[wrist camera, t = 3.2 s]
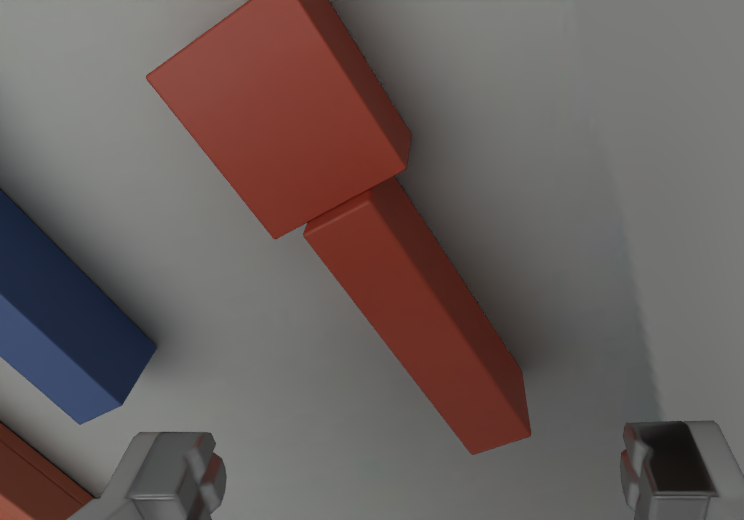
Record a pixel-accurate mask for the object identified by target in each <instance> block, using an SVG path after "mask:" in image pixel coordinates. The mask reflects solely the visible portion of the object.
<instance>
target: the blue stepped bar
mask: <svg viewBox="0 0 744 520" xmlns="http://www.w3.org/2000/svg"><path fill="white" fill-rule="evenodd" d="M156 348H157V347H156V346H155V345H154V344H153V343H152V342H151V341H150V340H149V339H148V338H147V337H146V336H145V335H144V334H143V333H142V332H141V331H140V330H139V329H138V328H137V326H136V325H135V324H134V323H133V322H132V321H131V320H130V319H129V318H128V317H127V316H126V315H125V314H124V313H123V312H122V311H121V310H120V309H119V308H118V307H117V306H116V305H115V304H114V303H113V302H112V301H111V300H110V299H109V298H108V297H107V296H106V295H105V294H104V293H103V292H102V291H101V290H100V289H99V288H98V287H97V286H96V285H95V284H94V283H93V282H92V281H91V280H90V279H89V278H88V277H87V276H86V275H85V274H84V273H83V272H82V271H81V270H80V269H79V268H78V267H77V266H76V265H75V264H74V263H73V262H72V261H71V260H70V259H69V258H68V257H67V256H66V255H65V254H64V253H63V252H62V251H61V250H60V249H59V248H58V247H57V246H56V245H55V244H54V243H53V242H52V241H51V240H50V239H49V238H48V237H47V236H46V235H45V234H44V233H43V232H42V231H41V230H40V229H39V228H38V227H37V226H36V225H35V224H34V223H33V222H32V221H31V220H30V219H29V218H28V217H27V216H26V215H25V214H24V213H23V212H22V211H21V210H20V209H19V208H18V207H17V206H16V205H15V204H14V203H13V202H12V201H11V200H10V199H9V198H8V197H7V196H6V195H5V194H4V193H3V192H2V191H1V190H0V357H2V358H3V359H4V360H5V361H6V362H7V363H9V364H10V365H11V366H12V367H13V368H14V369H16V370H17V371H18V372H19V373H20V374H21V375H23V376H24V377H25V378H26V379H27V380H28V381H29V382H31V383H32V384H33V385H34V386H35V387H36V388H38V389H39V390H40V391H41V392H42V393H43V394H45V395H46V396H47V397H48V398H49V399H50V400H52V401H53V402H54V403H55V404H56V405H57V406H58V407H60V408H61V409H62V410H63V411H64V412H65V413H67V414H68V415H69V416H70V417H71V418H72V419H74V420H75V421H76V422H77V423H78V424H80V425H81V424H83V423H85V422H87V421H89V420H92V419H94V418H96V417H98V416H100V415H102V414H105V413H107V412H109V411H111V410H113V409H115V408H117V407H120V406H122V405H123V403H124V401H125V400H126V398H127V396H128V395H129V393H130V391H131V390H132V388H133V386H134V385H135V383H136V381H137V380H138V378H139V377H140V375H141V373H142V372H143V370H144V368H145V367H146V365H147V363H148V362H149V360H150V358H151V357H152V355H153V353H154V352H155V350H156Z"/></svg>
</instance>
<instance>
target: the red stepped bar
mask: <svg viewBox="0 0 744 520" xmlns="http://www.w3.org/2000/svg"><path fill="white" fill-rule="evenodd" d="M146 79H147V80H148V82H149V83H150V84H151V85H152V87H153V88H154V89H155V90H156V92H157V93H158V94H159V95H160V97H161V98H162V99H163V100H164V102H165V103H166V104H167V105H168V107H169V108H170V109H171V110H172V112H173V113H174V114H175V115H176V117H177V118H178V119H179V120H180V122H181V123H182V124H183V126H184V127H185V128H186V129H187V131H188V132H189V133H190V134H191V136H192V137H193V138H194V139H195V141H196V142H197V143H198V144H199V146H200V147H201V148H202V149H203V151H204V152H205V153H206V154H207V156H208V157H209V158H210V159H211V161H212V162H213V163H214V164H215V166H216V167H217V168H218V169H219V171H220V172H221V173H222V174H223V176H224V177H225V178H226V180H227V181H228V182H229V183H230V185H231V186H232V187H233V188H234V190H235V191H236V192H237V193H238V195H239V196H240V197H241V198H242V200H243V201H244V202H245V203H246V205H247V206H248V207H249V208H250V210H251V211H252V212H253V213H254V215H255V216H256V217H257V218H258V220H259V221H260V222H261V223H262V225H263V226H264V227H265V228H266V230H267V231H268V232H269V233H270V235H271V236H272V237H273V239H277V238H279V237H281V236H283V235H285V234H287V233H288V232H290V231H292V230H294V229H296V228H298V227H300V226H301V225H303V224H305V223H307V222H308V223H307V226H306V228H305V231H304V233H303V235H304V238H305V239H306V240H307V241H308V243H309V244H310V245H311V247H312V248H313V249H314V251H315V252H316V253H317V254H318V256H319V257H320V258H321V260H322V261H323V262H324V264H325V265H326V266H327V268H328V269H329V270H330V271H331V273H332V274H333V275H334V277H335V278H336V279H337V281H338V282H339V283H340V284H341V286H342V287H343V288H344V290H345V291H346V292H347V294H348V295H349V296H350V297H351V299H352V300H353V301H354V303H355V304H356V305H357V307H358V308H359V309H360V310H361V312H362V313H363V314H364V316H365V317H366V318H367V320H368V321H369V322H370V323H371V325H372V326H373V327H374V329H375V330H376V331H377V333H378V334H379V335H380V336H381V338H382V339H383V340H384V342H385V343H386V344H387V346H388V347H389V348H390V350H391V351H392V352H393V353H394V355H395V356H396V357H397V359H398V360H399V361H400V363H401V364H402V365H403V366H404V368H405V369H406V370H407V372H408V373H409V374H410V376H411V377H412V378H413V379H414V381H415V382H416V383H417V385H418V386H419V387H420V389H421V390H422V391H423V392H424V394H425V395H426V396H427V398H428V399H429V400H430V402H431V403H432V404H433V405H434V407H435V408H436V409H437V411H438V412H439V413H440V415H441V416H442V417H443V418H444V420H445V421H446V422H447V424H448V425H449V426H450V428H451V429H452V430H453V432H454V433H455V434H456V435H457V437H458V438H459V439H460V441H461V442H462V443H463V445H464V446H465V447H466V448H467V450H468V451H469V452H470V454H472V455H474V454H477V453H480V452H483V451H487V450H490V449H493V448H496V447H499V446H502V445H505V444H508V443H511V442H514V441H518V440H521V439H524V438H527V437H530V436H531V428H530V422H529V415H528V408H527V402H526V395H525V388H524V382H523V375H522V371H521V369H520V368H519V366H518V365H517V363H516V362H515V360H514V359H513V357H512V355H511V354H510V352H509V351H508V349H507V348H506V346H505V345H504V343H503V342H502V340H501V339H500V337H499V336H498V334H497V333H496V331H495V329H494V328H493V326H492V325H491V323H490V322H489V320H488V319H487V317H486V316H485V314H484V313H483V311H482V310H481V308H480V306H479V305H478V303H477V302H476V300H475V299H474V297H473V296H472V294H471V293H470V291H469V290H468V288H467V287H466V285H465V284H464V282H463V280H462V279H461V277H460V276H459V274H458V273H457V271H456V270H455V268H454V267H453V265H452V264H451V262H450V261H449V259H448V257H447V256H446V254H445V253H444V251H443V250H442V248H441V247H440V245H439V244H438V242H437V241H436V239H435V238H434V236H433V235H432V233H431V231H430V230H429V228H428V227H427V225H426V224H425V222H424V221H423V219H422V218H421V216H420V215H419V213H418V212H417V210H416V208H415V207H414V205H413V204H412V202H411V201H410V199H409V198H408V196H407V195H406V193H405V192H404V190H403V189H402V187H401V186H400V184H399V182H398V181H397V179H396V178H395V175H397V174H399V173H400V172H402V171H404V170H406V169H407V164H408V156H409V149H410V141H411V133H410V131H409V130H408V128H407V127H406V125H405V123H404V122H403V120H402V118H401V117H400V115H399V114H398V112H397V110H396V109H395V107H394V106H393V104H392V102H391V101H390V99H389V97H388V96H387V94H386V93H385V91H384V89H383V88H382V86H381V84H380V83H379V81H378V80H377V78H376V76H375V75H374V73H373V71H372V70H371V68H370V67H369V65H368V63H367V62H366V60H365V59H364V57H363V55H362V54H361V52H360V50H359V49H358V47H357V46H356V44H355V42H354V41H353V39H352V37H351V36H350V34H349V33H348V31H347V29H346V28H345V26H344V24H343V23H342V21H341V20H340V18H339V16H338V15H337V13H336V12H335V10H334V8H333V7H332V5H331V3H330V2H329V0H249V1H248V2H246V3H245V4H244V5H242V6H241V7H239V8H238V9H237V10H235V11H234V12H233V13H231V14H230V15H228V16H227V17H226V18H224V19H223V20H222V21H220V22H219V23H218V24H216V25H215V26H213V27H212V28H211V29H209V30H208V31H207V32H205V33H204V34H202V35H201V36H200V37H198V38H197V39H196V40H194V41H193V42H192V43H190V44H189V45H187V46H186V47H185V48H183V49H182V50H181V51H179V52H178V53H177V54H175V55H174V56H172V57H171V58H170V59H168V60H167V61H166V62H164V63H163V64H161V65H160V66H159V67H157V68H156V69H155V70H153V71H152V72H151V73H149V74H148V75H147V76H146Z"/></svg>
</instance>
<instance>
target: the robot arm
mask: <svg viewBox="0 0 744 520" xmlns="http://www.w3.org/2000/svg"><path fill="white" fill-rule="evenodd" d="M623 439H624V442H625V446H626V449H625V450H624V451H623V452H622V453H621V460H620V472H621V482H622V488H623V493H624V496H625V500H626V504H627V505H628V506H629V507H630V508H631V509H632V510H633V511H634V512H635V516H634V520H744V475H743V474H742V472H741V469H740V468H739V465H738V463H737V461H736V459H735V458H734V456H733V454H732V451H731V449H730V447H729V445H728V443H727V441H726V439H725V437H724V435H723V433H722V431H721V429H720V427H719V425H718V424H717V423H715V422H714V421H684V422H682V421H669V422H638V423H626V424H625V427H624V432H623ZM215 445H216V443H215V441H214V438H213V436H212V434H211V433H208V432H140V433H138V434H137V435H136V436H135V437H134V438H133V439H132V441H131V443H130V444H129V446H128V448H127V450H126V452H125V454H124V455H123V457H122V459H121V461H120V463H119V464H118V466H117V468H116V470H115V472H114V474H113V475H112V477H111V479H110V481H109V483H108V484H107V486H106V488H105V490H104V492H103V493H102V495H101V497H100V499H92V500H91V501H90V502H88V503H87V504H86V505H84V506H83V507H82V508H81V509H79V510H78V511H77V512H75V513H74V514H73V515H72V516H70V517H69V518H68V519H66V520H212V518H211V516H210V514H211V513H212V512H214V511H215V510H216V509H217V508H218V507H219V506H220V505H221V503H222V500H223V497H224V494H225V487H226V478H227V477H226V470H225V465H224V463H223V460H222V458H221V457H219V456H218V455H216V454H215V453H214V452H213V450H214V448H215Z"/></svg>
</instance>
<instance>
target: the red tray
mask: <svg viewBox="0 0 744 520" xmlns="http://www.w3.org/2000/svg"><path fill="white" fill-rule="evenodd" d="M92 499H95V498H93V497H92V496H91V495H90V494H88V493H87V492H86V491H85V490H83V489H82V488H81V487H80V486H79V485H77V484H76V483H75V482H74V481H72V480H71V479H70V478H69V477H67V476H66V475H65V474H64V473H62V472H61V471H60V470H59V469H57V468H56V467H55V466H54V465H52V464H51V463H50V462H49V461H47V460H46V459H45V458H44V457H43V456H41V455H40V454H39V453H38V452H36V451H35V450H34V449H33V448H31V447H30V446H29V445H28V444H26V443H25V442H24V441H23V440H21V439H20V438H19V437H18V436H16V435H15V434H14V433H13V432H11V431H10V430H9V429H8V428H6V427H5V426H4V425H3V424H2V423H0V520H66V519H68V518H69V517H70V516H72V515H73V514H74V513H75V512H77V511H78V510H79V509H81V508H82V507H83V506H84V505H86V504H87V503H88V502H90V501H91V500H92Z"/></svg>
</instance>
